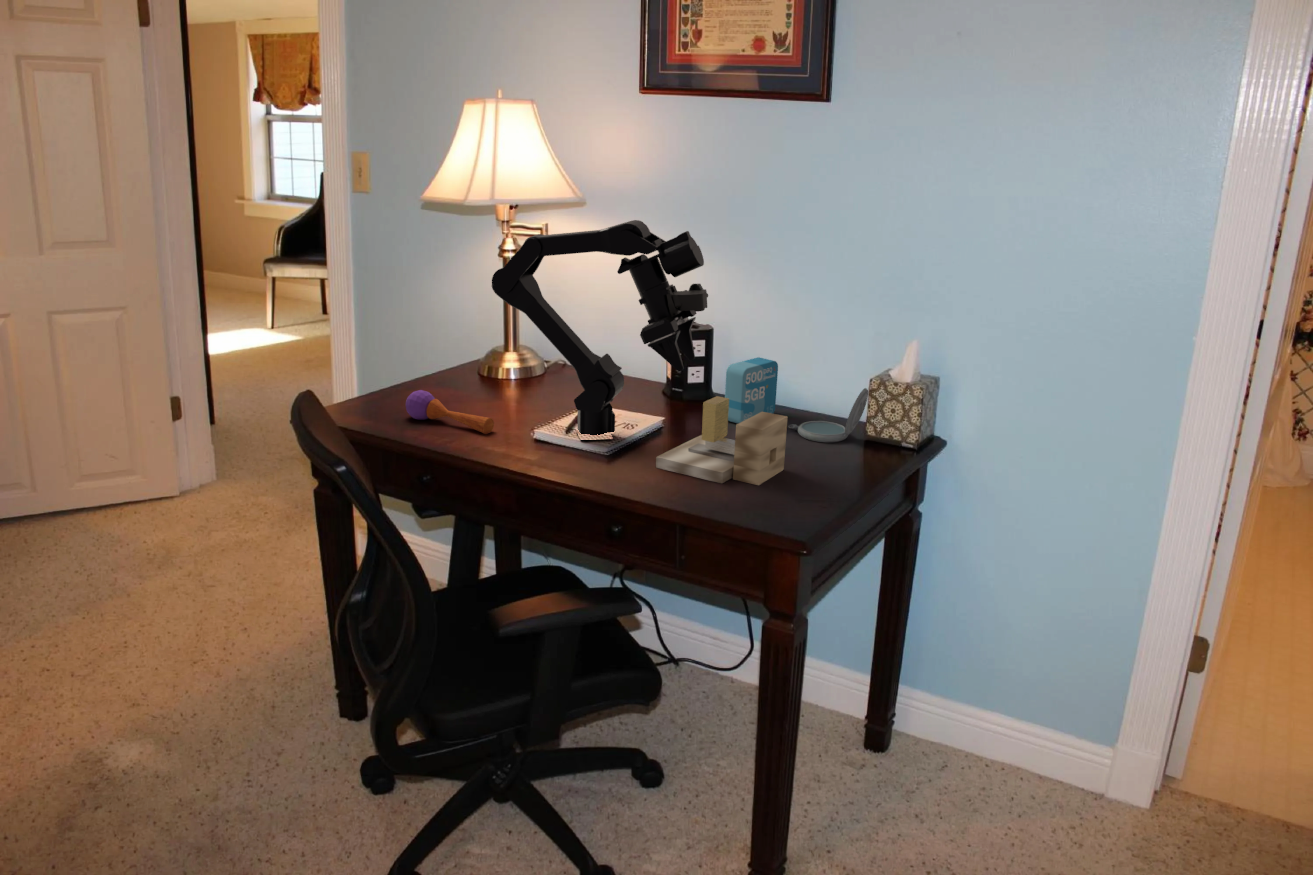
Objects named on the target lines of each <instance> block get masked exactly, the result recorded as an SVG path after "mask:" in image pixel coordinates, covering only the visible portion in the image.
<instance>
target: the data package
mask: <svg viewBox="0 0 1313 875" xmlns="http://www.w3.org/2000/svg"><path fill="white" fill-rule="evenodd" d="M778 372H779V364H778V362H777V361H776V360H773V359H769V358H768V359H767V358H763V357H760V356H758V357H754V358H749V359H746V360H742V361H737V362H735V363H730V365H728V367H727V369H726V372H725V388H724V389H725V392H724V398H729V412H728V422H730V423H735V424H736V425H737V424H739V423H740V422H742V421H744V420H746V419H748V418H750V417H752V416H754V415H756V414H758V413H760V412H767V413H772V414H775V411H776V403H777V402H776V401H777V388H778V375H779V374H778Z"/></svg>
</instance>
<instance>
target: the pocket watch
mask: <svg viewBox="0 0 1313 875" xmlns="http://www.w3.org/2000/svg"><path fill="white" fill-rule="evenodd" d="M868 398H869V390H868V388H866V387H865V388H863V389H862V390H861V391H860V392H859V394H858V396H857V398H856V399H855V401H854V403H853V405H852V407H851V410H850V412H849V415H848V417H847V421H846V424H845V426H844V425H842V424H840V423H836V422H832V421H826V420H811V421H809V420H808V421H806V422H802V423H800V424H799V425H797V424H793V423H791V424H789V425H787V428H789V429H794V430H797V433H798V435H799V436H801V437H802V438H804V439H806V440H809V441H812V442H817V443H838V442H841V441H844V440H847V438H848V436H849V435H850V434H851V433H852V432H853V431H854V429H855V428H856V427H857V425H858V424H859V422H860V420H861V418H862V416H863V414H864V411H865V409H866V405H867V403H868V402H867V401H868Z"/></svg>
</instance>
